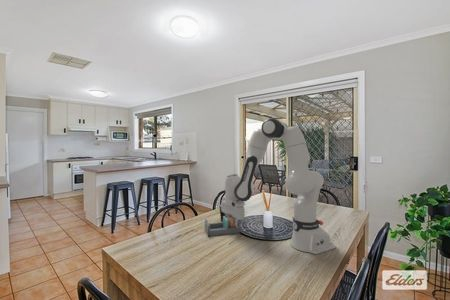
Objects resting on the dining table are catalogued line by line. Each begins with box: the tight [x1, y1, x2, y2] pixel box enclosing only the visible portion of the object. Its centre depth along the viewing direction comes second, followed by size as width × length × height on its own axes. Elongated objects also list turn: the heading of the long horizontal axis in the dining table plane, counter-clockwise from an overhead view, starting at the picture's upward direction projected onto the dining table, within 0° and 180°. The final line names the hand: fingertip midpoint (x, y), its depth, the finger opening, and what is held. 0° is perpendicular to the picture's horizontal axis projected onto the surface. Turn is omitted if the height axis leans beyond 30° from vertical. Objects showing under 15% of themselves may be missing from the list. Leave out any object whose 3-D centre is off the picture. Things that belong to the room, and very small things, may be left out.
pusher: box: [222, 216, 228, 229], centre depth 135 cm, size 1×8×7 cm, turn 15°
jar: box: [227, 214, 238, 228], centre depth 136 cm, size 6×6×9 cm
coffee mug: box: [219, 204, 227, 222], centre depth 153 cm, size 12×9×10 cm
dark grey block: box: [204, 218, 242, 237], centre depth 134 cm, size 20×11×6 cm, turn 105°
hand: (232, 222), depth 136 cm, fingers closed on jar, 6 cm apart
